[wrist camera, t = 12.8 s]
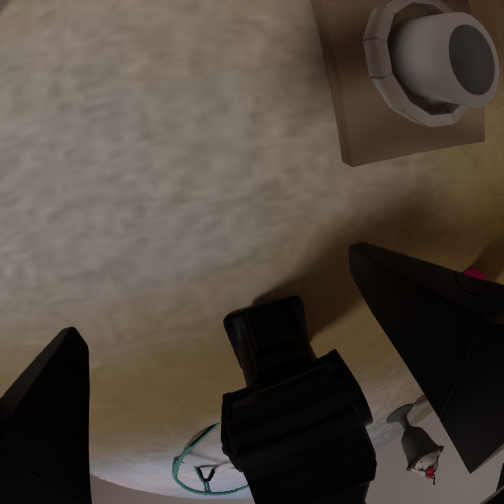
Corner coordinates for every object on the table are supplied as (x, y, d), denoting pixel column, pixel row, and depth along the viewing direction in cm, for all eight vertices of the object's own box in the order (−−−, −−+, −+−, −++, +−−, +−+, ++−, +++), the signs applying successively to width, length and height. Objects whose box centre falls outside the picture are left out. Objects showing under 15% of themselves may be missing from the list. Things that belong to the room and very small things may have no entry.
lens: (453, 97, 18) (504, 107, 13) (395, 100, 17) (447, 110, 13) (442, 22, 15) (493, 20, 10) (379, 16, 14) (430, 5, 10)
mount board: (473, 137, 21) (496, 145, 19) (342, 161, 21) (363, 173, 18) (451, -12, 14) (475, -16, 12) (301, -31, 13) (319, -46, 11)
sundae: (392, 406, 40) (434, 482, 27) (422, 396, 42) (465, 465, 29) (375, 428, 43) (410, 499, 30) (405, 419, 45) (441, 483, 32)
